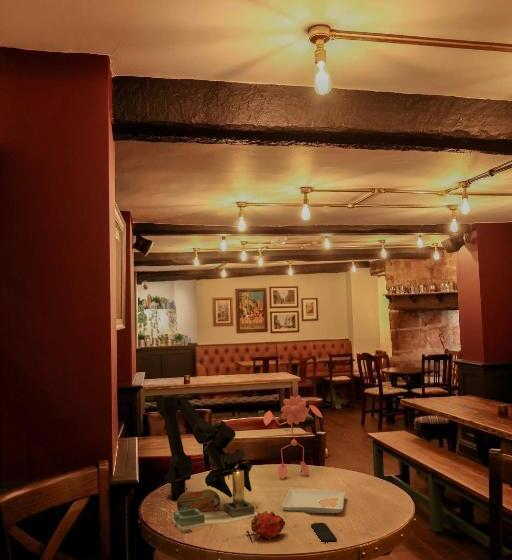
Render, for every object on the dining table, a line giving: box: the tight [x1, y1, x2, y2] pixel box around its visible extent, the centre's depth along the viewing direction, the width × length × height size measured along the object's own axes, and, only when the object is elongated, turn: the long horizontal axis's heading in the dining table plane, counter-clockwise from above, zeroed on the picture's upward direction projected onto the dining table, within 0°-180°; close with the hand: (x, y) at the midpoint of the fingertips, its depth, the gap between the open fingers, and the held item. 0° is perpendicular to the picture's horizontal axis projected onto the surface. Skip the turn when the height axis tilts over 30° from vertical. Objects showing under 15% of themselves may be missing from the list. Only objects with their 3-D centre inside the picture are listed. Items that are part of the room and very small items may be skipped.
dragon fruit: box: [250, 510, 286, 541], centre depth 176 cm, size 8×8×12 cm
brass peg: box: [231, 470, 246, 509], centre depth 198 cm, size 4×4×14 cm
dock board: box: [171, 499, 258, 534], centre depth 193 cm, size 12×28×4 cm, turn 115°
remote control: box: [310, 522, 338, 544], centre depth 178 cm, size 5×2×15 cm
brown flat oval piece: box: [176, 488, 221, 514], centre depth 199 cm, size 15×3×8 cm, turn 105°
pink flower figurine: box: [263, 395, 323, 480], centre depth 243 cm, size 15×26×35 cm, turn 107°
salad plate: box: [281, 488, 347, 515], centre depth 206 cm, size 21×21×3 cm
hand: (241, 493), depth 197 cm, fingers open, 9 cm apart
